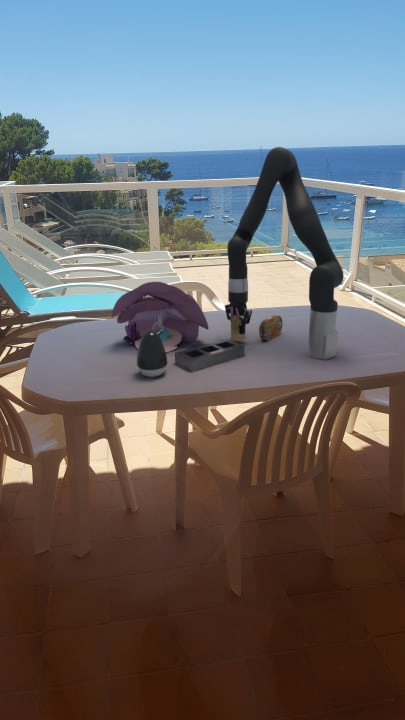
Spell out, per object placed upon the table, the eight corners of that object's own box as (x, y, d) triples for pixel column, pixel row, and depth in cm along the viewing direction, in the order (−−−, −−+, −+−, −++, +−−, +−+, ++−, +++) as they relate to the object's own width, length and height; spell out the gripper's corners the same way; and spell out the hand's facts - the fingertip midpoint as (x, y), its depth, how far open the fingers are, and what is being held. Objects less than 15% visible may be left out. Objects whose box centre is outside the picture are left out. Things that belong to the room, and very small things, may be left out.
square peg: (245, 339, 194) (245, 316, 191) (237, 341, 192) (237, 318, 188) (238, 336, 197) (238, 314, 194) (231, 338, 195) (230, 316, 191)
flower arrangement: (121, 369, 185) (108, 301, 169) (114, 338, 204) (102, 274, 188) (211, 351, 191) (206, 284, 175) (196, 322, 210) (191, 260, 194)
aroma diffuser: (174, 373, 167) (172, 330, 162) (151, 382, 160) (149, 338, 155) (154, 365, 174) (151, 324, 168) (131, 374, 167) (128, 332, 161)
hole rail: (227, 348, 189) (227, 338, 187) (244, 355, 181) (244, 345, 180) (175, 363, 175) (174, 352, 174) (191, 372, 168) (191, 360, 166)
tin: (264, 343, 194) (264, 322, 191) (257, 341, 195) (257, 321, 192) (282, 333, 205) (283, 313, 202) (276, 331, 207) (276, 312, 203)
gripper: (258, 291, 184) (257, 334, 190) (233, 285, 195) (233, 326, 201) (243, 294, 180) (243, 339, 186) (218, 288, 190) (219, 330, 197)
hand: (238, 332), depth 193 cm, fingers closed on square peg, 4 cm apart
